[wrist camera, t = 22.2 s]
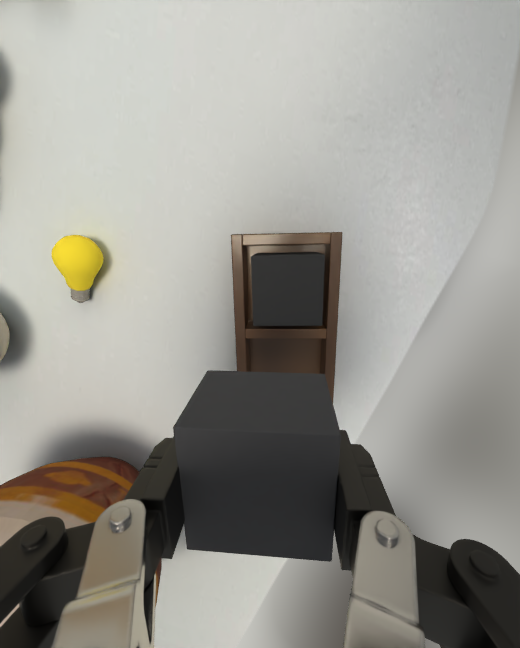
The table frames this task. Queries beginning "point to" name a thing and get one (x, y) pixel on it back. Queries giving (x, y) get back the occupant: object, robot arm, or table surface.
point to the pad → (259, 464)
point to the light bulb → (78, 264)
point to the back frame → (286, 341)
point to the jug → (65, 495)
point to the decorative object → (3, 337)
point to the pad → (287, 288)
